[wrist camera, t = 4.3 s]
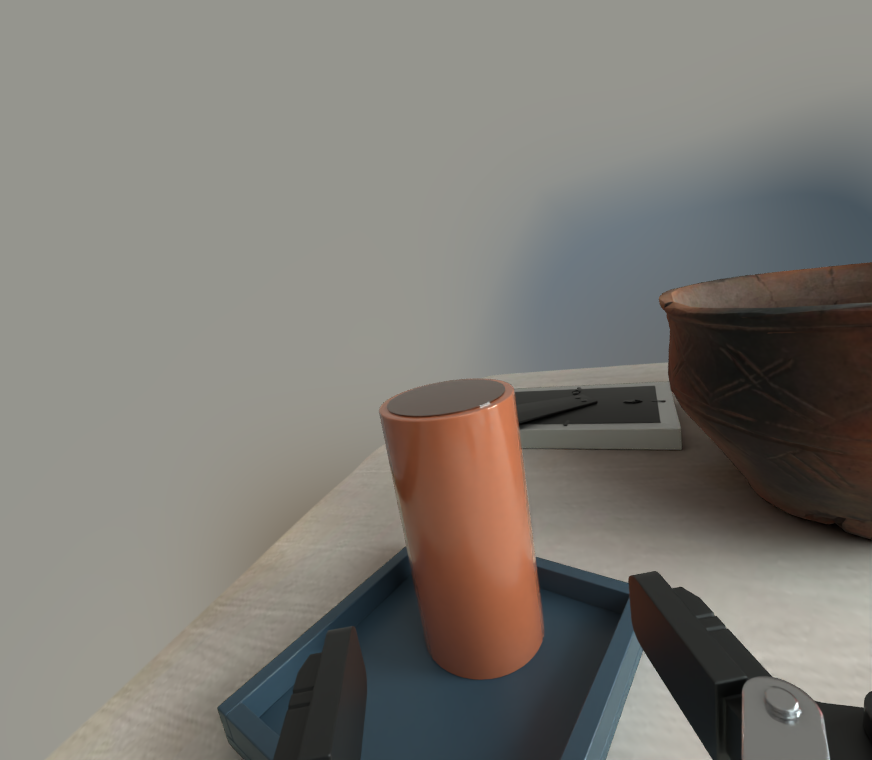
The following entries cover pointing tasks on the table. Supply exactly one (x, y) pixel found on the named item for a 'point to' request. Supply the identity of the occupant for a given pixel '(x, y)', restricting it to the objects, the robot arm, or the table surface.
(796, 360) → the bowl
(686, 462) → the table surface
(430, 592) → the tumbler
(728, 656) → the robot arm
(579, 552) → the table surface
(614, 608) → the tray
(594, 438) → the picture frame
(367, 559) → the table surface
